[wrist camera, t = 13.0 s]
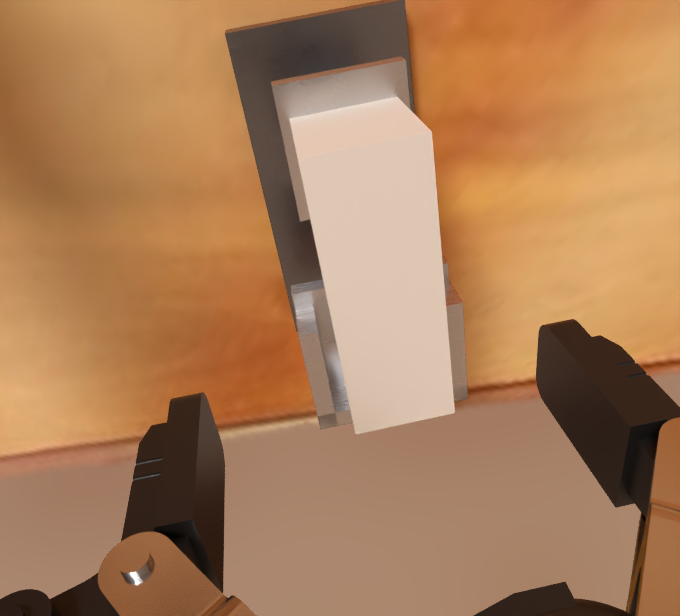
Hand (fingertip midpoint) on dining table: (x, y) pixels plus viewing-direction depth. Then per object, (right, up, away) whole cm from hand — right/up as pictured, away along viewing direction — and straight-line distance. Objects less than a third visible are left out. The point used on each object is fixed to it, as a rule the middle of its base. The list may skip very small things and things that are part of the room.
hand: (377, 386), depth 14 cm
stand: (-1, +10, +25) cm, 27 cm away
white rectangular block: (0, +5, +16) cm, 17 cm away
